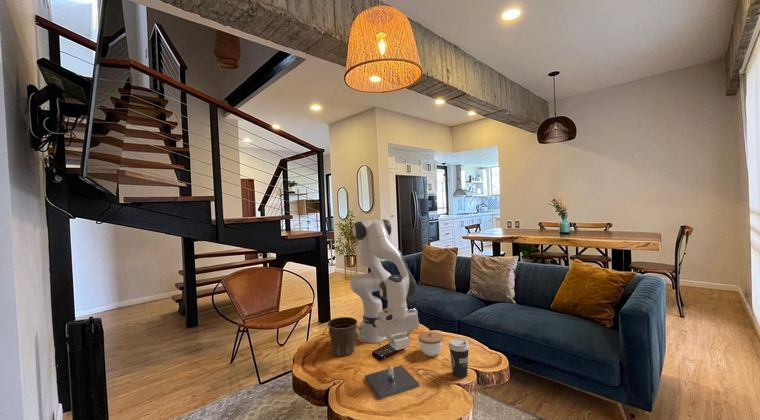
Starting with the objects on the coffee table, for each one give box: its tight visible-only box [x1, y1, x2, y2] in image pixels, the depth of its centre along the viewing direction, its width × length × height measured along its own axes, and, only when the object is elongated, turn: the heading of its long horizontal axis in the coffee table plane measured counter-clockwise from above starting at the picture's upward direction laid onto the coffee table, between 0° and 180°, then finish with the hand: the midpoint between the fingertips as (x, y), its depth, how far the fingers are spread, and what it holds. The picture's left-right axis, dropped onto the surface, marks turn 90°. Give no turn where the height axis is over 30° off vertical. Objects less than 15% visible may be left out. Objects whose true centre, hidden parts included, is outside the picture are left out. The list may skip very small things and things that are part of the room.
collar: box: [390, 332, 411, 351], centre depth 146 cm, size 7×7×4 cm
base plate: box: [364, 365, 420, 400], centre depth 144 cm, size 17×19×7 cm
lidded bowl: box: [417, 330, 444, 357], centre depth 169 cm, size 13×13×11 cm
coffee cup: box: [448, 337, 471, 379], centre depth 148 cm, size 10×10×15 cm
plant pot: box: [327, 316, 358, 357], centre depth 176 cm, size 16×16×16 cm
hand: (399, 341), depth 146 cm, fingers closed on collar, 7 cm apart
